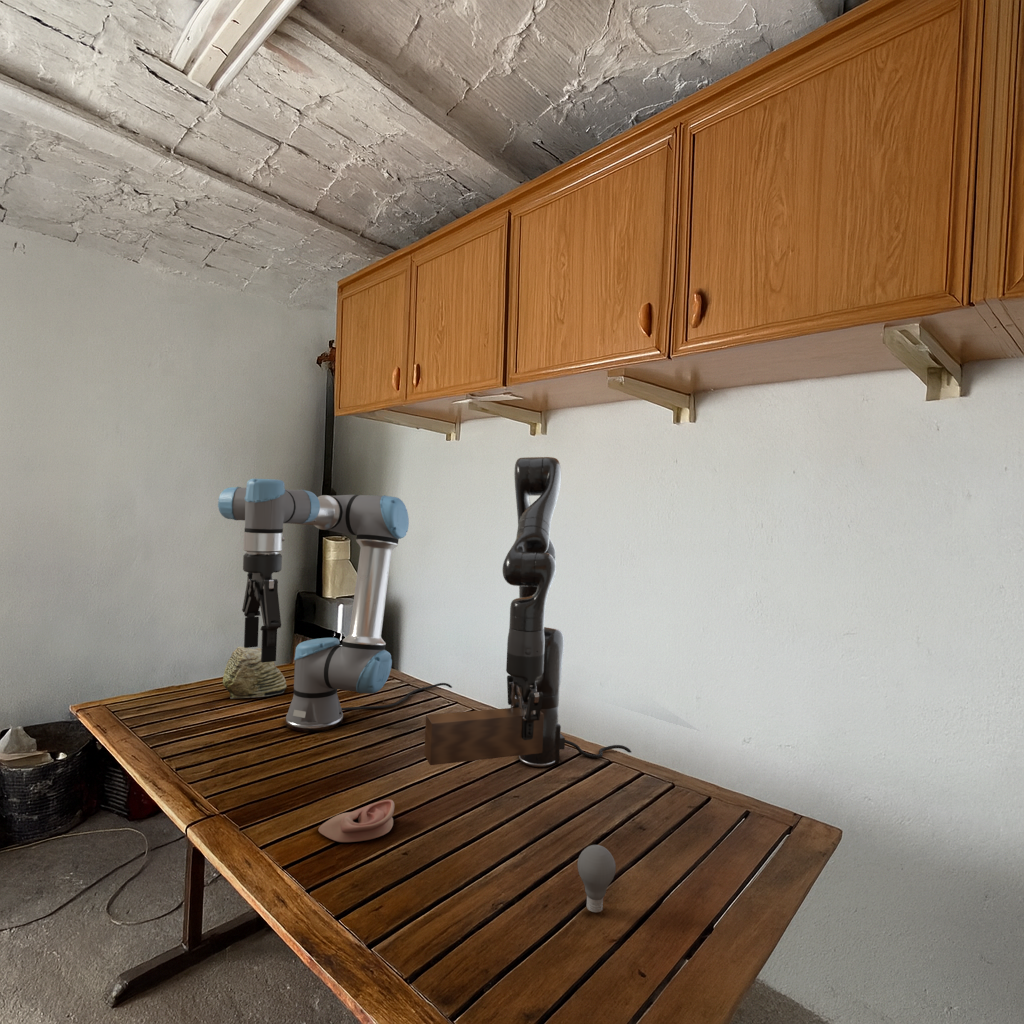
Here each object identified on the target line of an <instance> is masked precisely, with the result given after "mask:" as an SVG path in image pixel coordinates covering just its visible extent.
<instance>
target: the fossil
mask: <svg viewBox="0 0 1024 1024" xmlns="http://www.w3.org/2000/svg"><path fill="white" fill-rule="evenodd" d="M261 648H262V647H261ZM261 648H260V647H256V648H251V647H250V648H244V646H238V647H237V648H236V649H235V650H233V651H232V653H231V656H230V657H229V659H228V660H227V663H226V666H225V668H224V671H223V675H222V676H223V677H222V685H223V687H224V688H225V690H226V691H228V693H229V698H230V699H250V698H264V697H271V696H275V695H281V694H284V693H285V691H286V689H287V687H288V686H287V680H286V678H285V676H284V674H283V673H282V672H281V669H279V668H278V667H277V665H276V663H275V661H272V662H263V663H262V662H261Z"/></svg>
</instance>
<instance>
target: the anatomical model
mask: <svg viewBox="0 0 1024 1024" xmlns="http://www.w3.org/2000/svg"><path fill="white" fill-rule="evenodd" d="M394 812H395V801H394V800H392V799H384V800H380V801H377V802H373V803H370V804H368V805H365V806H363V807H360V808H357V809H355V810H353V811H348V812H343V813H340V814H337V815H334V816H333V817H331V818H330V819H328V820H326V821H325V822H323V823H322V824H321V825H320V826H319V827H318V829H317V830H318V832H319V834H321V835H322V836H324V837H325V838H328V839H330V840H332V841H334V842H337V843H355V842H363V841H370V840H374V839H376V838H380V837H382V836H384V835H386V834H388V833H389V832H390V831H391V830H392V828H393V826H394V818H393V815H394Z"/></svg>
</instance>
